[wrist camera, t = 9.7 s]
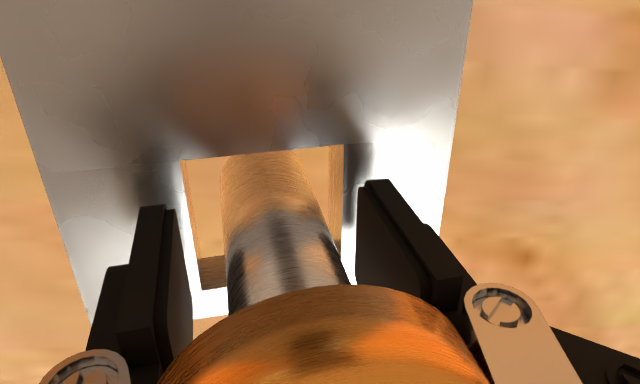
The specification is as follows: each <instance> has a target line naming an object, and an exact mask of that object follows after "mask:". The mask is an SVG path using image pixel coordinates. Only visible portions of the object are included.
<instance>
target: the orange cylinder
mask: <svg viewBox="0 0 640 384" xmlns="http://www.w3.org/2000/svg"><path fill="white" fill-rule="evenodd" d="M220 191H221V207H222V222H223V238H224V253H225V269H226V284H227V300H228V315H229V316H228V317H226V318H225V319H223V320H221V321H219V322H218V323H216V324H215V325H213V326H212V327H210V328H209V329H208V330H206V331H205V332H203V333H202V334H200V335H199V336H198V337H197V338H196V339H195V340H193V341H192V342H191V343H190V344H189V345H188V346H187V347H185V348H184V349H183V350H182V351H181V352H180V354H179V355H178V356H177V357H176V358H175V359H174V360H173V361H172V363H171V364H170V365H169V366H168V368H167V369H166V371H165V372H164V374H163V375H162V377H161V378H160V380H159V381H158V383H157V384H490V382H489V380H488V379H487V377H486V376H485V374H484V372H483V371H482V369H481V368H480V366H479V365H478V363H477V361H476V360H475V358H474V357H473V355H472V353H471V352H470V350H469V349H468V347H467V345H466V344H465V342H464V341H463V339H462V337H461V336H460V334H459V333H458V331H457V330H456V328H455V327H454V326H453V324H452V323H451V322H450V321H449V319H448V318H447V317H446V316H445V315H443V314H442V313H441V312H440V311H439V310H438V309H437V308H435V307H433V306H432V305H430V304H428V303H427V302H425V301H424V300H422V299H420V298H417V297H415V296H412V295H410V294H407V293H405V292H401V291H397V290H393V289H389V288H386V287H378V286H370V285H354V284H351V282H350V280H349V277H348V275H347V273H346V270H345V268H344V265H343V263H342V260H341V258H340V256H339V253H338V251H337V248H336V246H335V244H334V241H333V239H332V236H331V234H330V231H329V229H328V227H327V224H326V222H325V219H324V217H323V215H322V212H321V210H320V207H319V205H318V203H317V200H316V198H315V195H314V193H313V190H312V188H311V186H310V183H309V181H308V178H307V176H306V174H305V171H304V169H303V166H302V164H301V162H300V160H299V159H298V158H297V156H296V155H295V154H294V153H292V152H291V151H290V150H282V151H272V152H262V153H252V154H242V155H232V156H231V157H230V158H229V159H228V161H227V162H226V164H225V165H224V167H223V170H222V172H221V176H220Z"/></svg>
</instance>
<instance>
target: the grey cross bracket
mask: <svg viewBox="0 0 640 384" xmlns="http://www.w3.org/2000/svg"><path fill="white" fill-rule="evenodd" d="M472 5H473V0H0V56H1V59H2V62H3V65H4V68H5V71H6V74H7V77H8V80H9V83H10V86H11V89H12V92H13V95H14V98H15V101H16V104H17V107H18V110H19V112H20V115H21V118H22V121H23V124H24V127H25V130H26V133H27V136H28V139H29V142H30V145H31V148H32V151H33V154H34V157H35V160H36V163H37V166H38V169H39V172H40V175H41V178H42V181H43V184H44V187H45V190H46V193H47V196H48V199H49V202H50V205H51V208H52V211H53V214H54V217H55V220H56V223H57V226H58V229H59V232H60V235H61V238H62V241H63V243H64V246H65V249H66V252H67V255H68V258H69V261H70V264H71V267H72V270H73V273H74V276H75V279H76V282H77V285H78V288H79V291H80V294H81V297H82V300H83V303H84V306H85V309H86V312H87V315H88V318H89V321H90V324H91V327H92V323H93V319H94V316H95V312H96V308H97V304H98V300H99V296H100V292H101V288H102V284H103V280H104V277H105V273H106V270H107V268H108V267H109V266H117V265H124V264H129V259H130V254H131V249H132V244H133V239H134V234H135V229H136V223H137V218H138V213H139V208H140V207H141V206H150V205H159V204H165V205H166V208H167V210H168V209H175V210H176V214H177V219H178V225H179V230H180V236H181V241H182V247H183V252H184V258H185V263H186V268H187V274H188V279H189V285H190V290H191V296H192V304H193V320H195V319H201V318H207V317H213V316H219V315H225V314H228V300H227V284H226V269H225V255H222V256H215V257H208V258H201V256H200V250H199V244H198V237H197V231H196V225H195V219H194V213H193V206H192V200H191V194H190V188H189V182H188V176H187V169H186V163H185V160H191V159H201V158H211V157H221V156H231V155H242V154H252V153H262V152H272V151H282V150H292V149H302V148H312V147H323V146H329V231H330V234H331V236H332V239H333V241H334V244H335V246H336V248H337V251H338V253H339V256H340V258H341V260H342V263H343V265H344V268H345V270H346V273H347V275H348V277H349V280H350V282H351V284H354V285H357V283H356V280H355V274H354V266H355V241H356V216H357V192H358V188H359V187H362V186H364V184H365V182H366V180H374V179H383V178H388V179H390V181H391V182H392V183H393V185H394V186H395V187H396V188H397V190H398V191H399V192H400V194H401V195H402V196H403V197H404V199H405V200H406V201H407V203H408V204H409V205H410V207H411V208H412V209H413V210H414V212H415V213H416V214H417V216H418V217H419V218H420V219H421V221H422V222H423V223H427V224H429V225H430V226H431V227H432V228H433V229H434V231H435V232H436V233H437V235H438V236H439V229H440V223H441V216H442V209H443V202H444V195H445V189H446V182H447V175H448V168H449V161H450V155H451V148H452V141H453V134H454V127H455V120H456V114H457V107H458V100H459V93H460V86H461V80H462V73H463V66H464V59H465V52H466V46H467V39H468V32H469V25H470V18H471V12H472Z"/></svg>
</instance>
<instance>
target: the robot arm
mask: <svg viewBox="0 0 640 384" xmlns="http://www.w3.org/2000/svg"><path fill="white" fill-rule="evenodd" d="M354 274H355V280H356V283H357V285H370V286H378V287H386V288H389V289H393V290H397V291H401V292H405V293H407V294H410V295H412V296H415V297H417V298H420V299H422V300H424V301H425V302H427V303H428V304H430V305H432V306H433V307H435V308H437V309H438V310H439V311H440V312H441V313H442V314H443V315H445V316H446V317H447V318H448V319H449V321H450V322H451V323H452V324H453V326H454V327H455V328H456V330H457V331H458V333H459V334H460V336H461V337H462V339H463V341H464V342H465V344H466V345H467V347H468V349H469V350H470V352H471V353H472V355H473V357H474V358H475V360H476V361H477V363H478V365H479V366H480V368H481V369H482V371H483V372H484V374H485V376H486V377H487V379H488V380H489V382H490V384H640V359H639V358H636V357H633V356H631V355H628V354H625V353H622V352H620V351H617V350H614V349H611V348H609V347H606V346H603V345H600V344H597V343H595V342H592V341H589V340H586V339H584V338H581V337H578V336H575V335H573V334H570V333H567V332H564V331H562V330H559V329H556V328H553V327H551V326H549V325H548V323H547V321H546V320H545V318H544V316H543V314H542V313H541V311H540V309H539V308H538V306H537V305H536V304H535V302H534V301H533V300H532V299H531V298H530V297H529V296H527V295H526V294H525V293H523V292H522V291H520V290H517V289H515V288H513V287H511V286H507V285H504V284H498V283H484V284H479V285H477V284H476V283H475V281H474V280H473V279H472V278H471V276H470V275H469V274H468V273H467V271H466V270H465V269H464V267H463V266H462V265H461V264H460V262H459V261H458V260H457V259H456V257H455V256H454V255H453V254H452V252H451V251H450V250H449V248H448V247H447V246H446V245H445V243H444V242H443V241H442V240H441V238H440V237H439V236H438V235H437V233H436V232H435V231H434V229H433V228H432V227H431V226H430V225H429V224H427V223H423V222H422V221H421V219H420V218H419V217H418V216H417V214H416V213H415V212H414V210H413V209H412V208H411V207H410V205H409V204H408V203H407V201H406V200H405V199H404V197H403V196H402V195H401V194H400V192H399V191H398V190H397V188H396V187H395V186H394V185H393V183H392V182H391V181H390V179H388V178H383V179H374V180H366V182H365V184H364V186H362V187H359V188H358V192H357V216H356V241H355V266H354ZM192 341H193V304H192V296H191V290H190V285H189V279H188V274H187V268H186V263H185V258H184V252H183V247H182V241H181V236H180V230H179V225H178V219H177V214H176V210H175V209H168V210H167V208H166V205H165V204H159V205H150V206H141V207H140V208H139V213H138V218H137V223H136V229H135V234H134V239H133V244H132V249H131V254H130V259H129V264H124V265H117V266H109V267H108V268H107V270H106V273H105V277H104V280H103V284H102V288H101V292H100V296H99V300H98V304H97V308H96V312H95V316H94V319H93V323H92V327H91V331H90V335H89V339H88V343H87V347H86V351H84V352H80V353H78V354H75V355H73V356H71V357H68V358H66V359H65V360H63V361H62V362H60V363H59V364H57V365H56V366H54V367H53V368H52V369H51V370H50V371H49V372H48V373H47V374H46V375H45V376H44V377H43V378H42V380H41V381H40V383H39V384H157V383H158V381H159V380H160V378H161V377H162V375H163V374H164V372H165V371H166V369H167V368H168V366H169V365H170V364H171V363H172V361H173V360H174V359H175V358H176V357H177V356H178V355H179V354H180V352H181V351H182V350H183V349H184V348H185V347H187V346H188V345H189V344H190V343H191V342H192Z"/></svg>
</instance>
